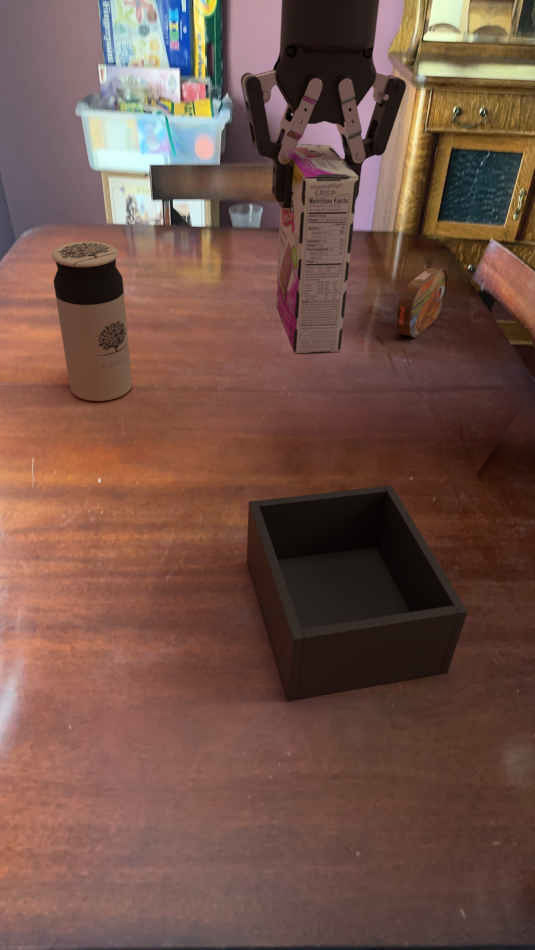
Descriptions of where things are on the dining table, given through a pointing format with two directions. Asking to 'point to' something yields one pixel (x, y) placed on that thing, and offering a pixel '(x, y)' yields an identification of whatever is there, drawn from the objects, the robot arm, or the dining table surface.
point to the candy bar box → (316, 249)
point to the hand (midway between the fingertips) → (314, 204)
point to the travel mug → (92, 320)
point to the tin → (421, 301)
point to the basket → (349, 591)
